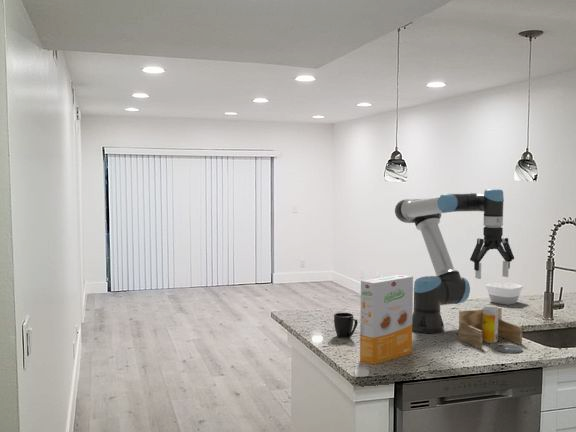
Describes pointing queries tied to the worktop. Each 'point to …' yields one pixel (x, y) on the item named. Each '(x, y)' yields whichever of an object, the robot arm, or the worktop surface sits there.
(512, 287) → the bowl
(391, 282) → the cereal box
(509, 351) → the coaster
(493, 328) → the beer can
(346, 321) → the mug
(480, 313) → the shelf bay
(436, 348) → the worktop surface
